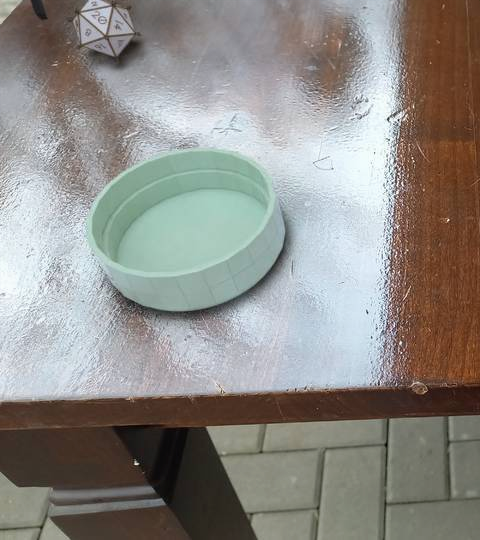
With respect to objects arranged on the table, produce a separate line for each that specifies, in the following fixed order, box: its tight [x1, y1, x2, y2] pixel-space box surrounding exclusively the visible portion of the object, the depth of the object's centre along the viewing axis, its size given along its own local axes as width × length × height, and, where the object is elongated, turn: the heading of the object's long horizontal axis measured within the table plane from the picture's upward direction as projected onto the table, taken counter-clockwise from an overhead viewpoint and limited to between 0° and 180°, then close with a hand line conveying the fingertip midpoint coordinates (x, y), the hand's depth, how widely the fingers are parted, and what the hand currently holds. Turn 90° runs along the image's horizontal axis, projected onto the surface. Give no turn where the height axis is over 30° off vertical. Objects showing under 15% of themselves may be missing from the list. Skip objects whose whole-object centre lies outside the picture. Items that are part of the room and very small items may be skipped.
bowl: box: [84, 147, 286, 312], centre depth 72 cm, size 18×18×6 cm
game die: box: [65, 0, 143, 64], centre depth 94 cm, size 9×8×10 cm
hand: (97, 6), depth 92 cm, fingers open, 13 cm apart
